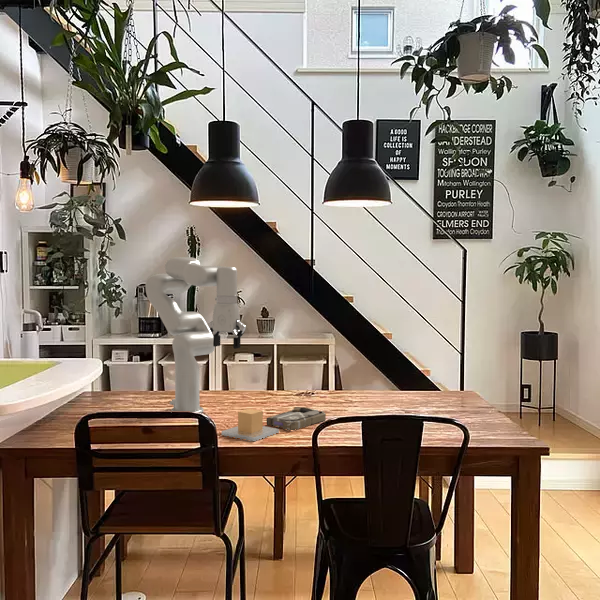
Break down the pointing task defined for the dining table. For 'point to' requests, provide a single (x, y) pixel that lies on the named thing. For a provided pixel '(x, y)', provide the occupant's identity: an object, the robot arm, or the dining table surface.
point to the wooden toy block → (250, 420)
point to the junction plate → (250, 436)
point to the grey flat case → (296, 418)
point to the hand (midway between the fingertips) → (226, 347)
